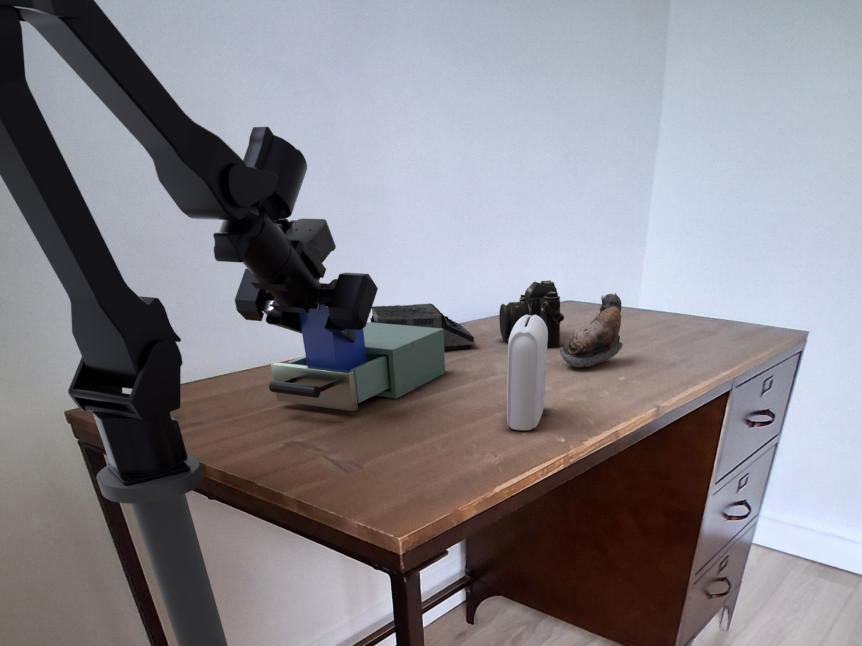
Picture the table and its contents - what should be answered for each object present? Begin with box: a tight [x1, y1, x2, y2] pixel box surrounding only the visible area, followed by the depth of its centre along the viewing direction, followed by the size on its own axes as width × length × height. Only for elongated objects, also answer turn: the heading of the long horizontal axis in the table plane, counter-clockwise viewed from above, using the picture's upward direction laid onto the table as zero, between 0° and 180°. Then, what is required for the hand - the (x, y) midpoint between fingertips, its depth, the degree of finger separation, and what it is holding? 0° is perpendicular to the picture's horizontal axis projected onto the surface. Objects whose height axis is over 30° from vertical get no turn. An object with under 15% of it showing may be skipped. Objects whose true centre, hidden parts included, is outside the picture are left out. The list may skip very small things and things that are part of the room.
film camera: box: [498, 279, 565, 348], centre depth 123 cm, size 18×12×10 cm
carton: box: [299, 305, 367, 371], centre depth 90 cm, size 7×5×12 cm
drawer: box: [268, 353, 391, 412], centre depth 92 cm, size 19×12×5 cm, turn 156°
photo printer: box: [506, 315, 548, 431], centre depth 84 cm, size 10×4×12 cm, turn 169°
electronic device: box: [369, 302, 475, 352], centre depth 122 cm, size 12×17×6 cm
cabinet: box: [363, 321, 446, 399], centre depth 102 cm, size 16×14×7 cm
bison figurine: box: [559, 292, 624, 369], centre depth 108 cm, size 12×7×10 cm, turn 135°
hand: (337, 337), depth 91 cm, fingers closed on carton, 5 cm apart
